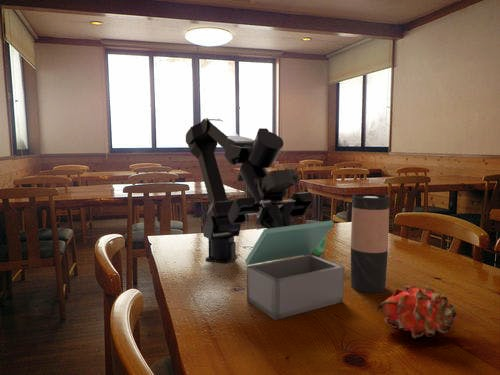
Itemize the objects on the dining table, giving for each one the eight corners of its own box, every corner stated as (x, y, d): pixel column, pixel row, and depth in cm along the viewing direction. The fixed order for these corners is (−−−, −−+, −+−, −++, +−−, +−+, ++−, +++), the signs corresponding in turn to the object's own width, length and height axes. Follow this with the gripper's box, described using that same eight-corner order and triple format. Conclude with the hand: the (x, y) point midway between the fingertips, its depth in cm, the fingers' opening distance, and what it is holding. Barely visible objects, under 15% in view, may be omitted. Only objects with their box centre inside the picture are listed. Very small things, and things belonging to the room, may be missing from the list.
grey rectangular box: (246, 300, 77) (246, 266, 76) (310, 285, 85) (311, 254, 84) (275, 320, 68) (275, 281, 67) (342, 301, 76) (343, 267, 75)
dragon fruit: (461, 352, 61) (381, 348, 65) (452, 304, 67) (379, 303, 71) (462, 323, 56) (375, 321, 60) (452, 274, 62) (373, 276, 66)
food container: (327, 270, 95) (328, 230, 94) (302, 268, 97) (303, 229, 95) (328, 256, 107) (328, 220, 106) (305, 254, 109) (306, 219, 107)
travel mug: (367, 296, 79) (370, 199, 77) (342, 284, 86) (344, 194, 83) (394, 289, 82) (398, 196, 80) (368, 278, 89) (370, 192, 87)
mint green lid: (246, 265, 76) (244, 260, 76) (311, 253, 84) (308, 249, 84) (266, 233, 69) (264, 229, 70) (334, 224, 77) (331, 220, 78)
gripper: (232, 157, 76) (263, 219, 67) (308, 155, 85) (344, 210, 76) (216, 194, 83) (243, 255, 74) (287, 189, 92) (318, 243, 83)
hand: (289, 240), depth 77 cm, fingers closed, pressing on mint green lid
